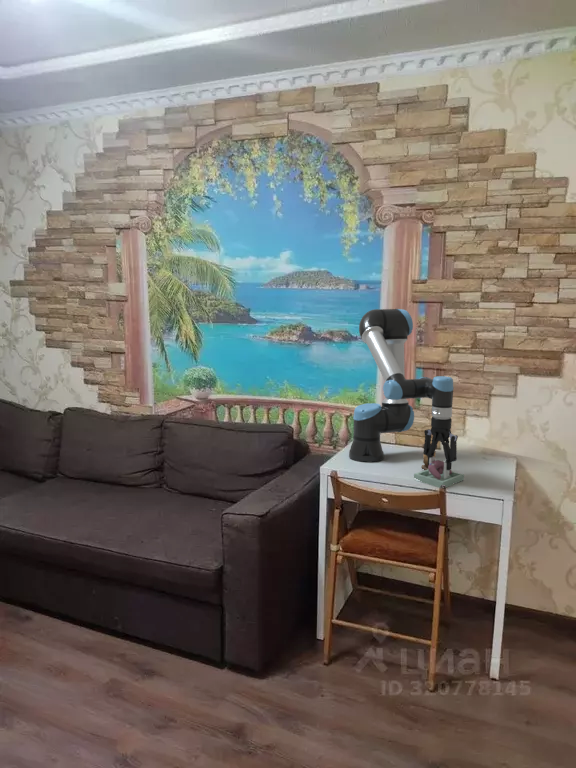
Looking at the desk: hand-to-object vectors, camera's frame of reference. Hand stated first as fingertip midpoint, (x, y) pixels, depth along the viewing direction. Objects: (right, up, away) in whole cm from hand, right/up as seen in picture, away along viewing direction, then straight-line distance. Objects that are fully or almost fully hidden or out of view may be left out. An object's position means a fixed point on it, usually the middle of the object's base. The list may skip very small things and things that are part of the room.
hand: (438, 475), depth 223 cm
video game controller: (0, 0, 0) cm, 1 cm away
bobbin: (0, 0, +14) cm, 14 cm away
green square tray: (0, -2, 0) cm, 2 cm away
